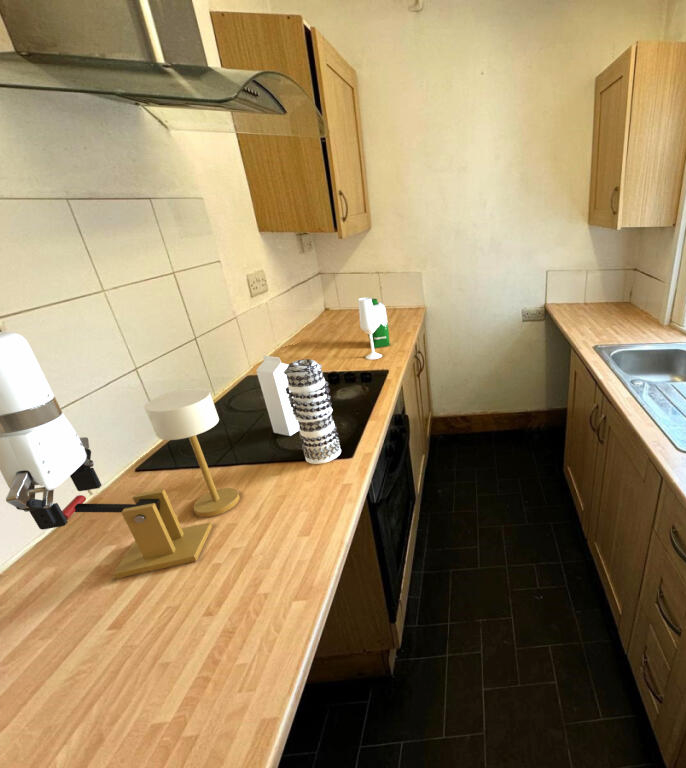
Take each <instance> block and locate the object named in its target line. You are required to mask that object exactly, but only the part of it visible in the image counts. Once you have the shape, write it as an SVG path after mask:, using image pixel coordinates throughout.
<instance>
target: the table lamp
mask: <svg viewBox="0 0 686 768" xmlns="http://www.w3.org/2000/svg"><path fill="white" fill-rule="evenodd" d="M144 410H145V413H146V414H147V417H148V419H149V422H150V424H151V427H152V429H153V431H154V433H155V436H156V438H157V439H159V440H161V441H162V440H163V441H177V440H184V439H187V438H188V439H189V442H190V445H191V446H192V450H193V453H194V455H195V459H196V461H197V463H198V466H199V468H200V472H201V473H202V476H203V479H204V482H205V484H206V486H207V489H208V493H205V494H204V495H201V497H199V498H198V499H197V500H196V501H195V502H194V504H193V511H194V513H195V515H196V516H198V517H201V518H210V517H211V518H212V517H215V516H216V517H217V516H218V515H221V514H225V513H226V512H228V511H229V510H231V509H233V508H234V507H235V506H236V505H237V504H238V502H239V501H240V494H239V491H238V489H235V488H234V487H222V488H218V489H217V488H216V485H215V482H214V480H213V476H212V474H211V471H210V469H209V466H208V463H207V460H206V458H205V456H204V452H203V449H202V448H201V445H200V442H199V439H198V437H197V436H198V435H200V434H203V433H205V432H207V431H209V430H211V429H212V428H214V427H215V426H217V424H218V423H219V421H220V418H219V415H218V412H217V408H216V405H215V403H214V399H213V398H212V395H211V391H210V390H209V389H208V388H207V389H206V388H201V387H199V388H198V387H193V388H185V389H178V390H175V391H171V392H167V393H164V394H161V395H159V396H156V397H154V398H153V399H150V400H148V401H147V402H146V403H145V405H144Z"/></svg>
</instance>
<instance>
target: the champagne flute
mask: <svg viewBox="0 0 686 768" xmlns="http://www.w3.org/2000/svg"><path fill="white" fill-rule="evenodd" d="M371 299H372V297H361V298H358V300H357V301H358V314H359V326H360V327H359V328H360V329H361V331H362V332H364V333H365V334H367V335H368V334H369V337H368V339H369V338H370V340H369V343H370V350H371V351H370V353H369V354H368V355H366V356H365V359H367V360H377V359H381V358H382V357H383V354H381V353H378V352H376V351H375V348H374V344H373V338H372V334H373V333H374V332H375V330H376V329H377V327H378V324H377V320H376V316H375V312H374V308H373V304H372V300H371Z"/></svg>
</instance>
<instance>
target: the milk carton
mask: <svg viewBox="0 0 686 768" xmlns="http://www.w3.org/2000/svg"><path fill="white" fill-rule="evenodd" d="M371 300H372V304H373V308H374V312H375V316H376V320H377V324H378V327H377V329H376V330H375V332H374V333H373V334H372V338H373V344H374V349H377V348H385V347H390V331H389V323H388V315H387V309H386V306H385V304H384V303H383V302H378V299H377V298H371ZM367 336H368V340H369V341H370V338H369V334H367Z"/></svg>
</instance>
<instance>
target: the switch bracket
mask: <svg viewBox="0 0 686 768" xmlns="http://www.w3.org/2000/svg"><path fill="white" fill-rule="evenodd" d="M140 499H160V510H159V511H158V509H157V507H156V505H155V503H153V504H147V505H142V506H136V507H131V508H125V509H123V511H122V512H120V513H121V515H122V517H123V519H124V521H125V523H126V525H127V527H128V528H129V529H128V530H129V531H130V533H131V535H132V537H133V539H134V542H133V543H132V544H131V546H130V548H129V549H128V551H127V552H126V554H125V555H124V556H123V558H122V559H121V561H120V563H119V564H118V565H117V567H116V568H115V570H114V572H113V573H112V575H113V577H114V579H115V580H116V579H121V578H125V577H130V576H135V575H140V574H144V573H149V572H152V571H157V570H162V569H165V568H170V567H175V566H180V565H184V564H188V563H193V562H196V561H197V560H198V558H199V556H200V555H201V552H202V550H203V547H204V546H205V543H206V542H207V539H208V537H209V534H210V533H211V530H212V528H213V526H212V523H211V522H206V523H201V524H196V525H191V526H186V527H181V524H180V522H179V520H178V517H177V515H176V512H175V510H174V508H173V505H172V504H171V503H172V502H171V500H170V499H169V496H168V494H167V492H166V490H165V488H162V489H156V490H152V491H151V490H150V491H146V492H140V493H134V495H133V496H132V500H133V501H134V504H137V502H138V501H139V500H140Z"/></svg>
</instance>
